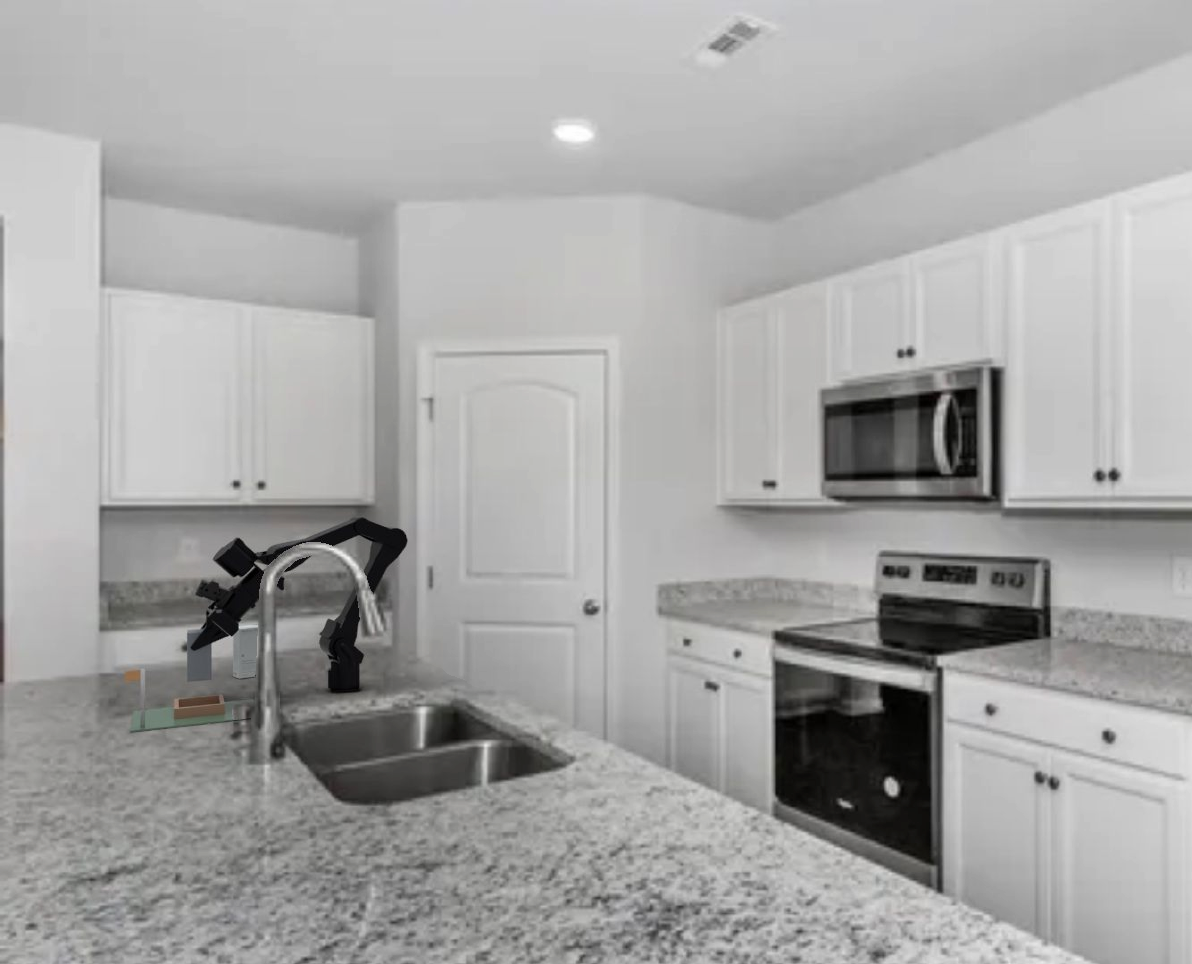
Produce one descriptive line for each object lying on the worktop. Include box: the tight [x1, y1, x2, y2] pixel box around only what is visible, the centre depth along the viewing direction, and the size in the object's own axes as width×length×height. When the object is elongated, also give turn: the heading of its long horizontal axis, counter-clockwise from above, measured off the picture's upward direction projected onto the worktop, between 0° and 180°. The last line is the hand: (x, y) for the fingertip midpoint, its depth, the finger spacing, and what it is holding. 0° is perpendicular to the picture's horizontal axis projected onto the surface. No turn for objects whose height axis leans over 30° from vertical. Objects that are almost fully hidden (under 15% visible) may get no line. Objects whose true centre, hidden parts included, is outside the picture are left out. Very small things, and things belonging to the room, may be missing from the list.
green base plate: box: [124, 668, 254, 733], centre depth 177 cm, size 25×16×11 cm, turn 116°
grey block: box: [186, 628, 213, 683], centre depth 184 cm, size 5×5×10 cm
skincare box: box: [232, 624, 259, 680], centre depth 214 cm, size 6×4×12 cm
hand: (192, 647), depth 183 cm, fingers closed on grey block, 5 cm apart
